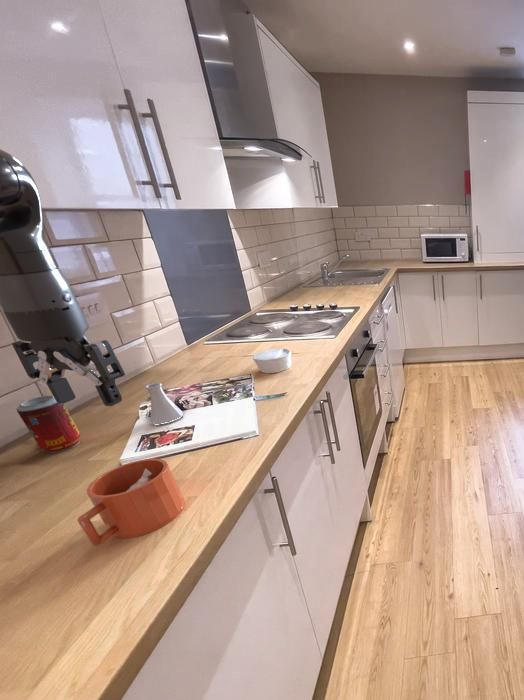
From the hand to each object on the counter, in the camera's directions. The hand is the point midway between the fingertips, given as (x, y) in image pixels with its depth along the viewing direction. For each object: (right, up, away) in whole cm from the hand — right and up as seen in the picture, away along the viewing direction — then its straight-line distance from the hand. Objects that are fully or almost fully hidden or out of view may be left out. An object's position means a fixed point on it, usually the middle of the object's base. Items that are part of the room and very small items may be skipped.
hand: (90, 402), depth 66 cm
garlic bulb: (0, -21, +9) cm, 23 cm away
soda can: (-39, -12, +31) cm, 51 cm away
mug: (0, -22, +8) cm, 24 cm away
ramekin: (-13, +8, +73) cm, 75 cm away
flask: (-23, -7, +42) cm, 49 cm away
